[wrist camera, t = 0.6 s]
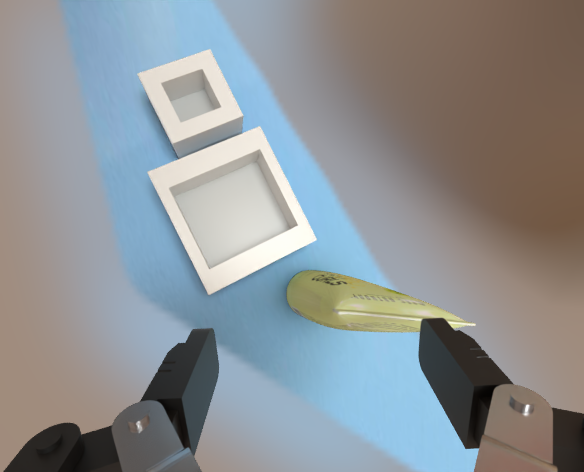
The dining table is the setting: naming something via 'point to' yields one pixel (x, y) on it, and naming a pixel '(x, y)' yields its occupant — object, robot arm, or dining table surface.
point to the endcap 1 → (193, 102)
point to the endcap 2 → (232, 208)
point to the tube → (359, 304)
